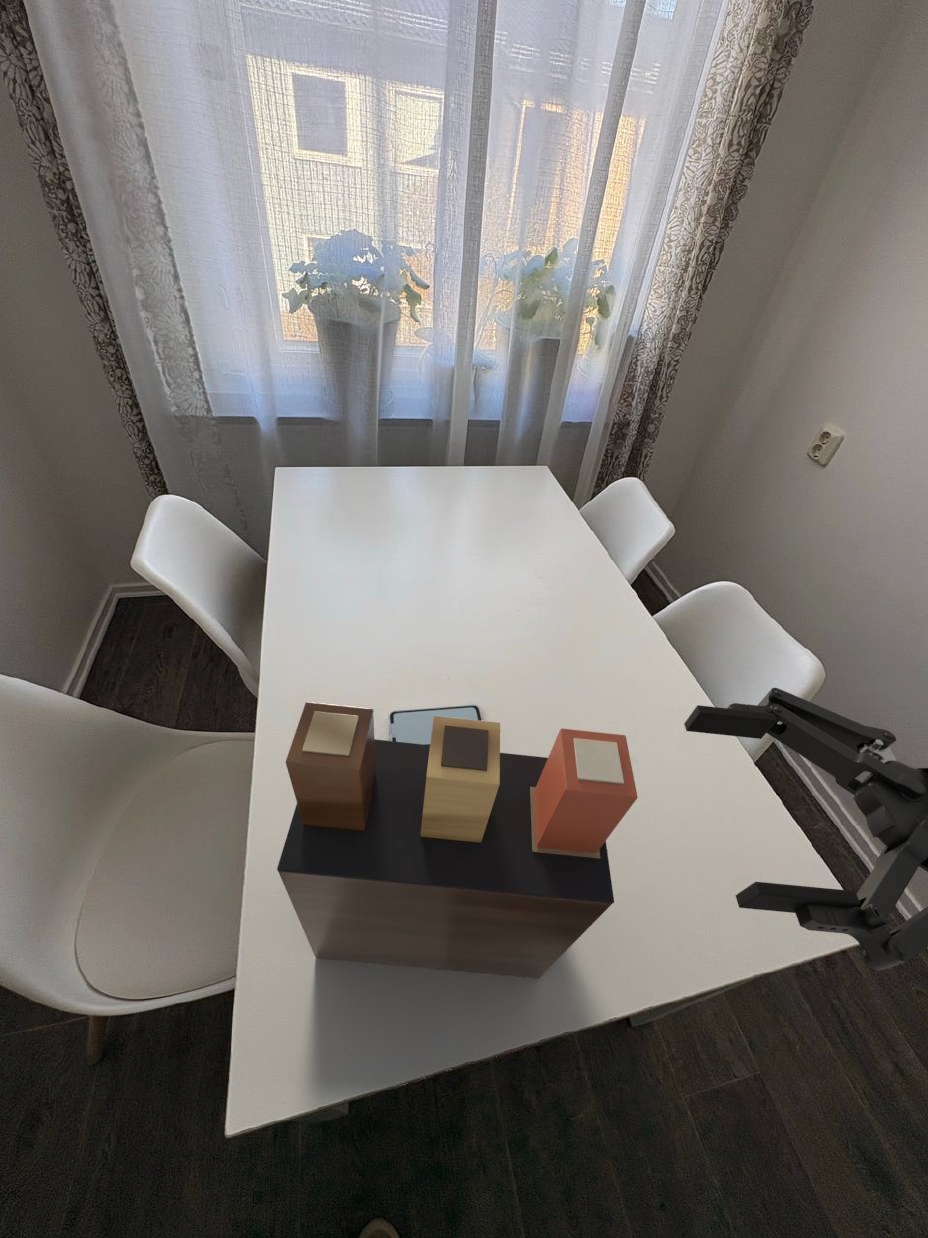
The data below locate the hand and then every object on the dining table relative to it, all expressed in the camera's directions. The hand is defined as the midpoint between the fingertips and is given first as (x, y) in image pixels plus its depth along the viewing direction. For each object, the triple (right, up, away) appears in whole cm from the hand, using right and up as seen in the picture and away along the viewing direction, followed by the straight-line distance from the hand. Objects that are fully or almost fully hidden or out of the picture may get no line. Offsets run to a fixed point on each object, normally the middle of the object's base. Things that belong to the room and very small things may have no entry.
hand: (715, 795), depth 38 cm
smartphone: (-23, -5, +44) cm, 50 cm away
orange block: (-10, -4, +6) cm, 12 cm away
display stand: (-22, -23, +25) cm, 41 cm away
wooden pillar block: (-20, -3, +6) cm, 21 cm away
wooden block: (-29, -2, +5) cm, 30 cm away
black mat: (-20, -3, +6) cm, 21 cm away
